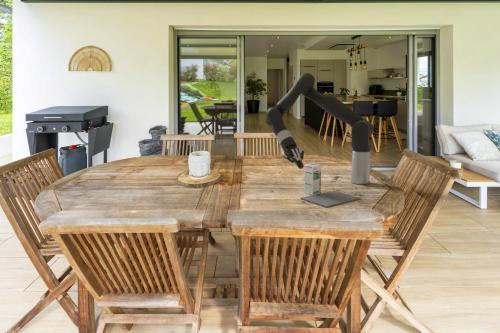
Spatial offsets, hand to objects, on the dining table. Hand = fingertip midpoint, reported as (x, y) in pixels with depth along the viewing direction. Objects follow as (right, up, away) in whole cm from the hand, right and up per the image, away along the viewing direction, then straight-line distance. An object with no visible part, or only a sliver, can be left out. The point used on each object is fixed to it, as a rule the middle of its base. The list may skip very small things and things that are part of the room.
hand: (301, 167), depth 190 cm
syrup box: (+4, -13, -4) cm, 14 cm away
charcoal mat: (+11, -14, -14) cm, 23 cm away
